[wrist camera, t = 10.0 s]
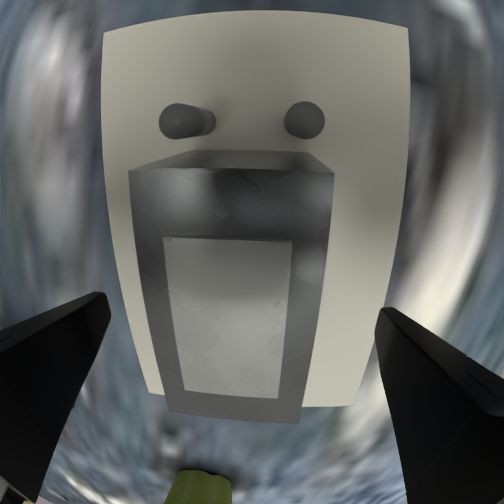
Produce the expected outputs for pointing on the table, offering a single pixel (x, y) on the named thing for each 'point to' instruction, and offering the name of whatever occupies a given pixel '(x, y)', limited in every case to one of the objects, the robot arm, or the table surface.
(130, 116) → the peg board
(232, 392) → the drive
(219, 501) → the plant pot
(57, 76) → the table surface
